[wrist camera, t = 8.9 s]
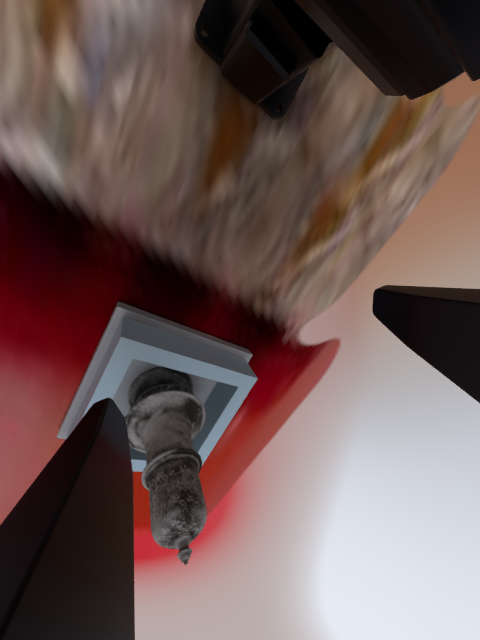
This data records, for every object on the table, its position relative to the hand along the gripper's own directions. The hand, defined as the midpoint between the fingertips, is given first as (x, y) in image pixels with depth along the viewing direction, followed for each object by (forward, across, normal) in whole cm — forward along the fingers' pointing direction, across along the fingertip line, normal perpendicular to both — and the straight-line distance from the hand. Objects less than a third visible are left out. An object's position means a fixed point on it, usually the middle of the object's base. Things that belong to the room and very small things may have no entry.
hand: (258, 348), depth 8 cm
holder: (+13, +6, +10) cm, 17 cm away
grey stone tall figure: (+12, +6, +10) cm, 16 cm away
